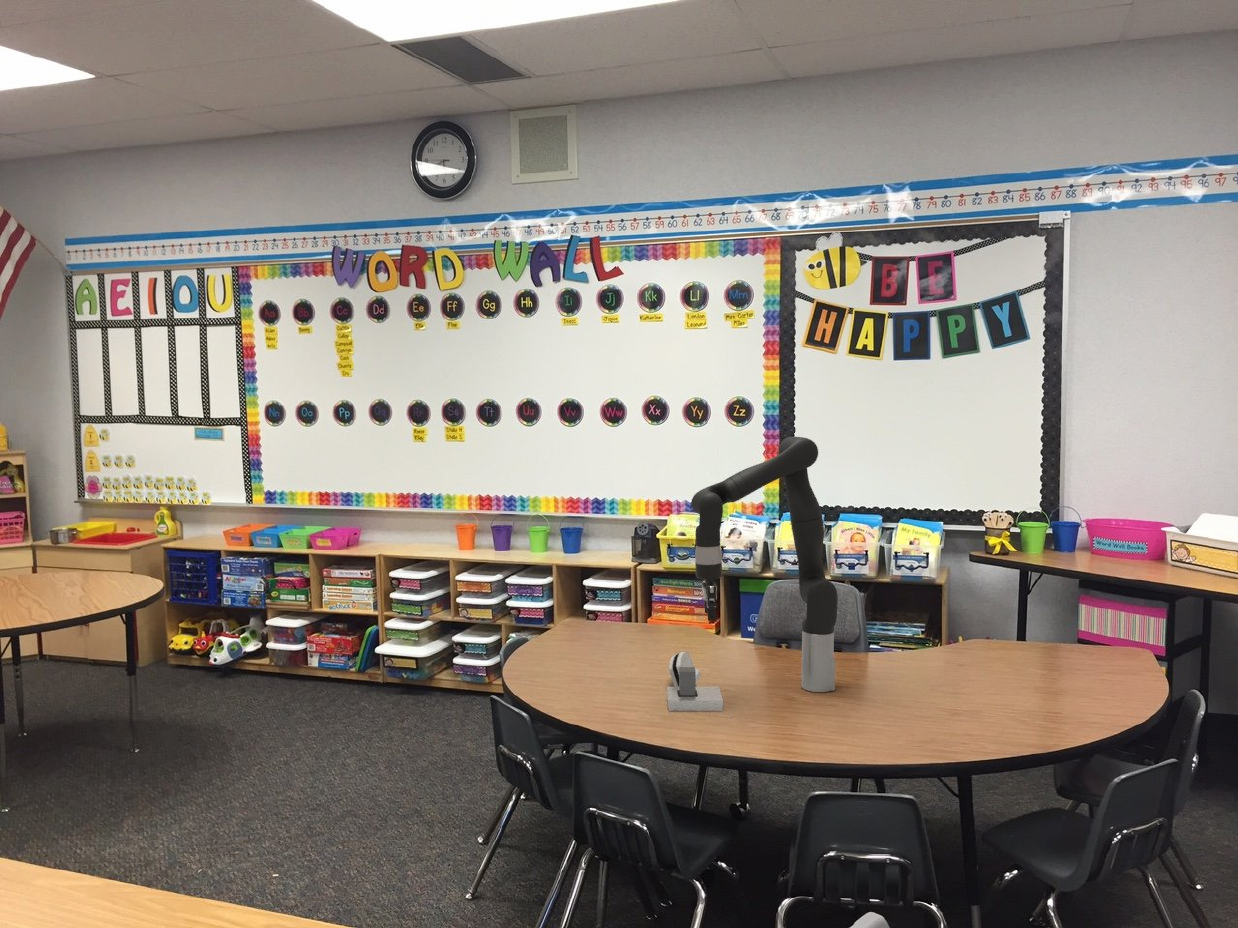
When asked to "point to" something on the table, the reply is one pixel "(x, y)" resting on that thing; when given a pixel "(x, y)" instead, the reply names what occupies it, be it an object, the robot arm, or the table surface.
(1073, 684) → the table surface
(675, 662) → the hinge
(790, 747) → the table surface
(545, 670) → the table surface
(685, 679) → the square peg
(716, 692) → the square hole plate
